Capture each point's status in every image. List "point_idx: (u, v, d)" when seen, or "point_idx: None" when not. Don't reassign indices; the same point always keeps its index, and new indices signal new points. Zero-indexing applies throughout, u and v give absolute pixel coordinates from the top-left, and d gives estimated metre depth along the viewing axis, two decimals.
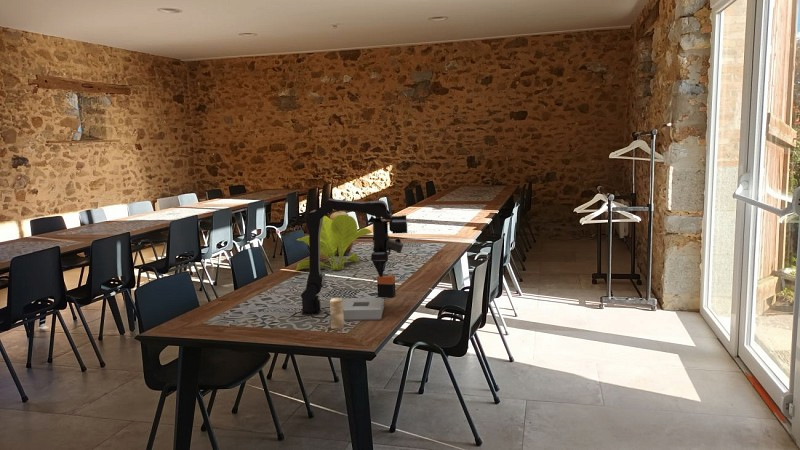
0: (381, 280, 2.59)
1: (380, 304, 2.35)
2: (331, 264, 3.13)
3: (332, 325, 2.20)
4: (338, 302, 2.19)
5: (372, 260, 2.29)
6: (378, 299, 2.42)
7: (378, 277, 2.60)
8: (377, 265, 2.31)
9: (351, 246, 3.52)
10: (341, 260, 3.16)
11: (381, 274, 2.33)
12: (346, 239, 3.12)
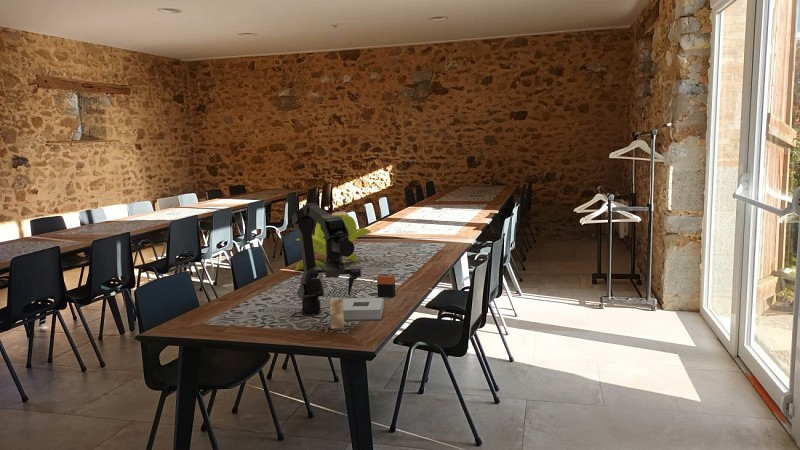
0: (381, 280, 2.59)
1: (380, 304, 2.35)
2: None
3: (332, 325, 2.20)
4: (338, 302, 2.19)
5: None
6: (378, 299, 2.42)
7: (378, 277, 2.60)
8: None
9: None
10: None
11: None
12: None
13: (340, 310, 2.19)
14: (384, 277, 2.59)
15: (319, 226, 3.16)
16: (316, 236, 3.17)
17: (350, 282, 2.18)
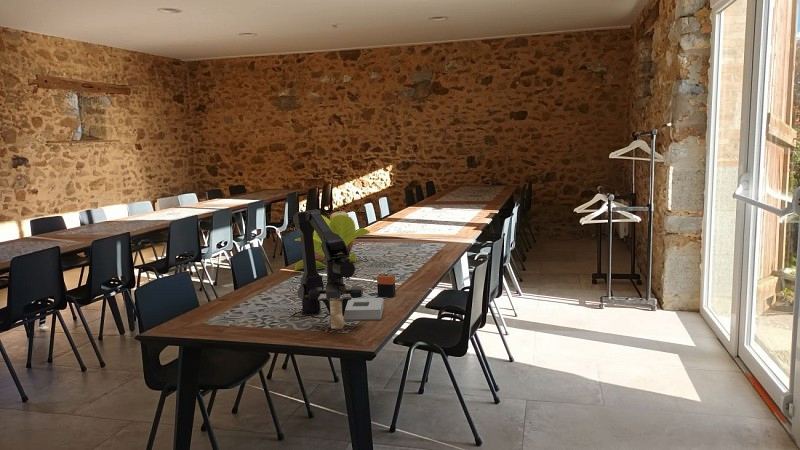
0: (381, 280, 2.59)
1: (380, 304, 2.35)
2: None
3: (332, 325, 2.20)
4: (338, 302, 2.19)
5: None
6: (378, 299, 2.42)
7: (378, 277, 2.60)
8: None
9: (351, 246, 3.52)
10: None
11: None
12: (344, 239, 3.12)
13: (340, 310, 2.19)
14: (384, 277, 2.59)
15: None
16: (315, 236, 3.17)
17: (344, 303, 2.19)
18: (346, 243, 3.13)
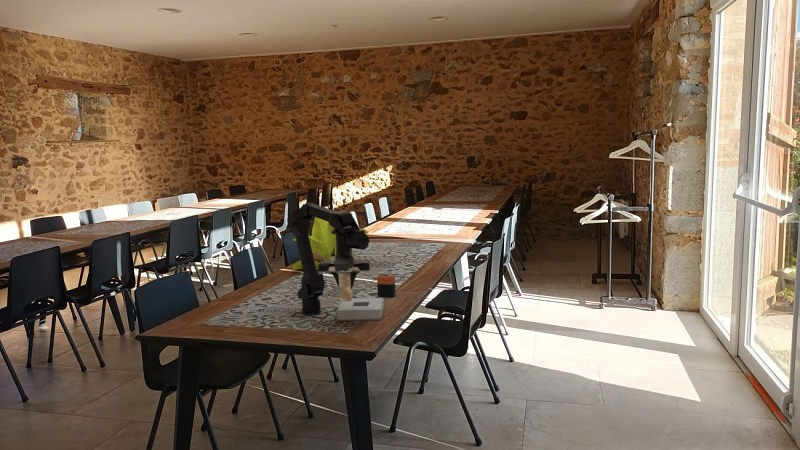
0: (381, 280, 2.59)
1: (380, 304, 2.35)
2: None
3: (341, 298, 2.25)
4: (347, 275, 2.23)
5: None
6: (378, 299, 2.42)
7: (378, 277, 2.60)
8: None
9: None
10: None
11: None
12: None
13: (348, 283, 2.24)
14: (384, 277, 2.59)
15: (316, 226, 3.16)
16: (313, 236, 3.16)
17: (352, 276, 2.24)
18: None
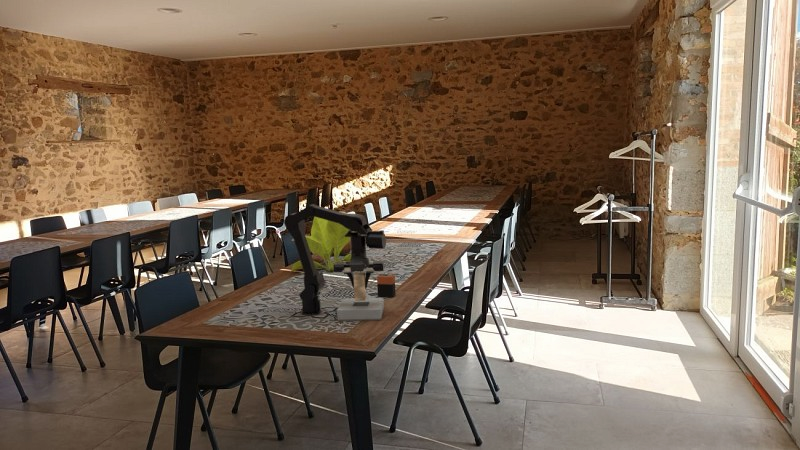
0: (381, 280, 2.59)
1: (380, 304, 2.35)
2: (326, 264, 3.12)
3: (355, 297, 2.34)
4: (361, 275, 2.32)
5: None
6: (378, 299, 2.42)
7: (378, 277, 2.60)
8: None
9: None
10: (336, 260, 3.16)
11: None
12: (341, 239, 3.11)
13: (363, 283, 2.33)
14: (384, 277, 2.59)
15: (315, 226, 3.16)
16: (312, 236, 3.16)
17: (367, 276, 2.33)
18: (343, 243, 3.12)
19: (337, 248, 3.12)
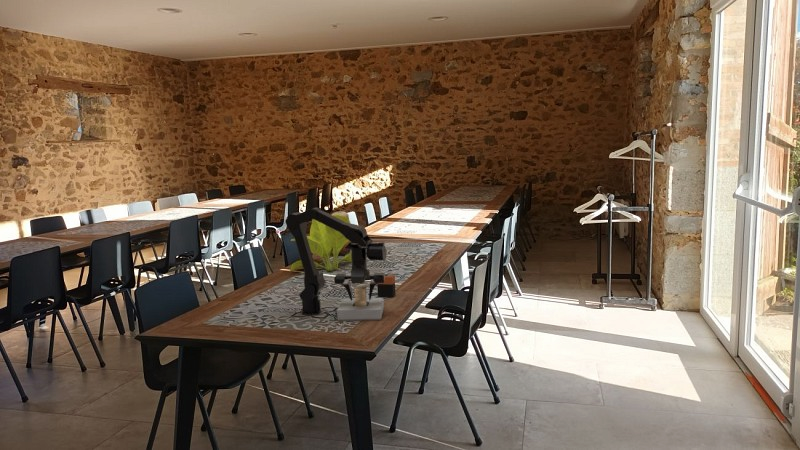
0: None
1: (380, 304, 2.35)
2: (325, 264, 3.12)
3: None
4: (362, 289, 2.33)
5: None
6: (378, 299, 2.42)
7: None
8: None
9: None
10: (335, 260, 3.16)
11: None
12: (340, 239, 3.11)
13: (364, 297, 2.34)
14: None
15: (314, 226, 3.16)
16: (311, 236, 3.16)
17: (371, 288, 2.33)
18: (342, 243, 3.12)
19: (336, 248, 3.12)
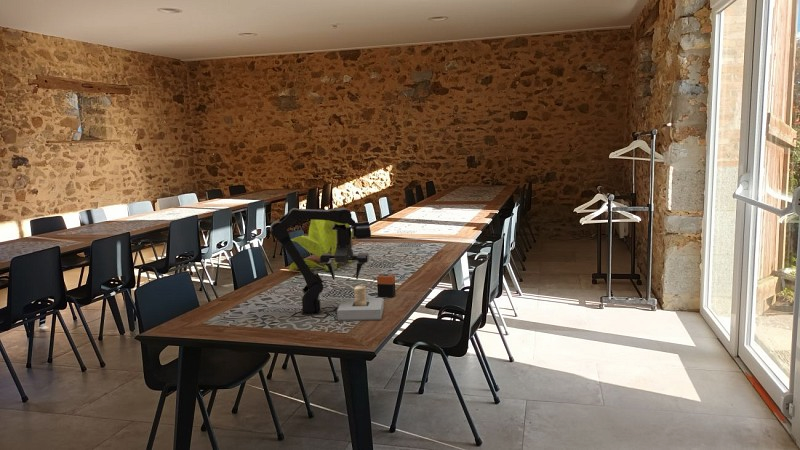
0: (381, 280, 2.59)
1: (380, 304, 2.35)
2: (324, 265, 3.12)
3: None
4: (362, 289, 2.33)
5: None
6: (378, 299, 2.42)
7: (378, 277, 2.60)
8: None
9: None
10: (334, 260, 3.16)
11: None
12: None
13: (364, 297, 2.34)
14: (384, 277, 2.59)
15: (313, 226, 3.15)
16: (310, 236, 3.16)
17: (358, 267, 2.41)
18: None
19: (335, 248, 3.12)
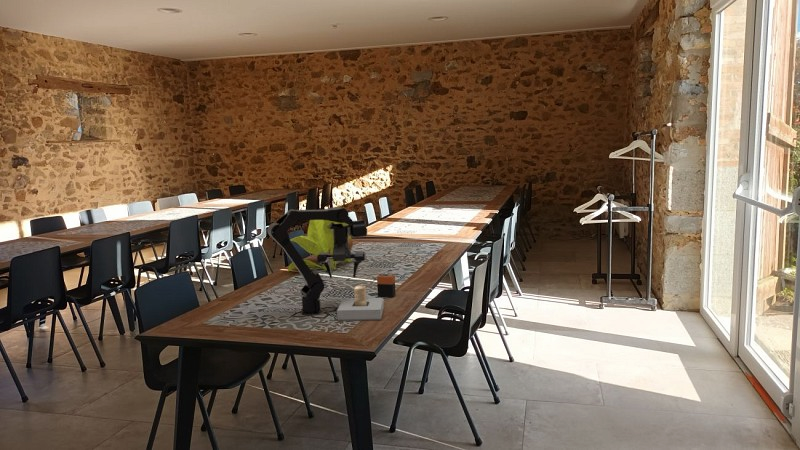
0: (381, 280, 2.59)
1: (380, 304, 2.35)
2: (323, 265, 3.12)
3: None
4: (362, 289, 2.33)
5: None
6: (378, 299, 2.42)
7: (378, 277, 2.60)
8: None
9: (351, 246, 3.52)
10: (333, 261, 3.15)
11: None
12: None
13: (364, 297, 2.34)
14: (384, 277, 2.59)
15: (312, 226, 3.15)
16: (309, 237, 3.16)
17: (355, 265, 2.43)
18: None
19: None
